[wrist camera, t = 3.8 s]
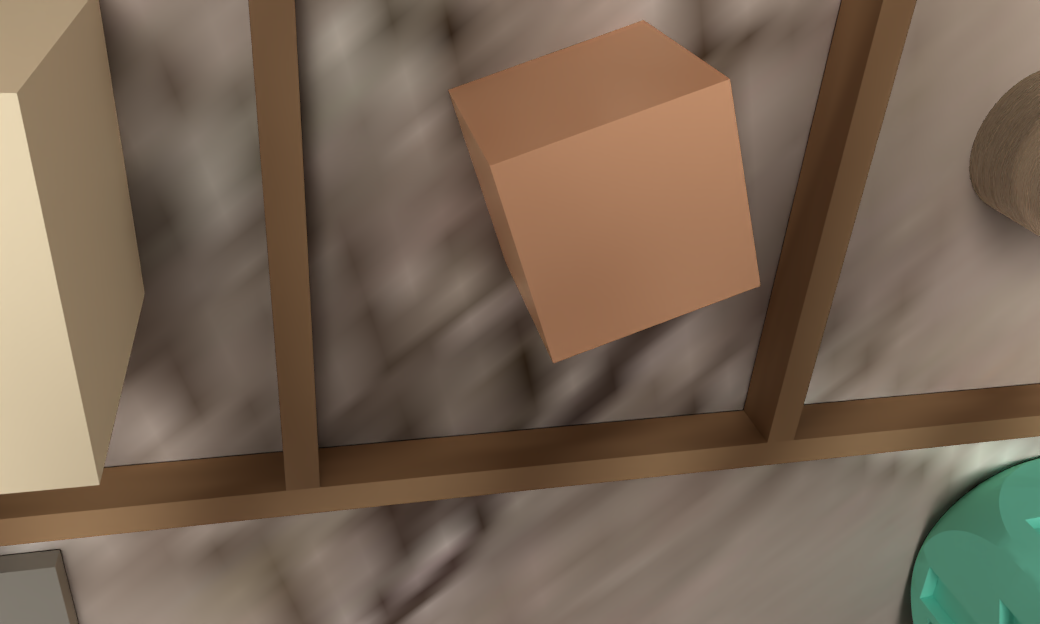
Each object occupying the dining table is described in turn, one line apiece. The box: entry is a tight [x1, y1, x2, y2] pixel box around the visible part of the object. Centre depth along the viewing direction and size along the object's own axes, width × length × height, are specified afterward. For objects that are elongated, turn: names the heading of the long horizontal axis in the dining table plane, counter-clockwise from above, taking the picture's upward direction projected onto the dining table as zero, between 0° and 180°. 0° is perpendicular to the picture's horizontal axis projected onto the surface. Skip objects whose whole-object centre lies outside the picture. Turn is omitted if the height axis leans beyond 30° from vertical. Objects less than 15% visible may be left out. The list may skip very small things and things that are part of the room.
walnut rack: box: [0, 0, 1040, 546], centre depth 20 cm, size 39×18×2 cm, turn 86°
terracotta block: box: [448, 20, 761, 363], centre depth 19 cm, size 4×4×4 cm
